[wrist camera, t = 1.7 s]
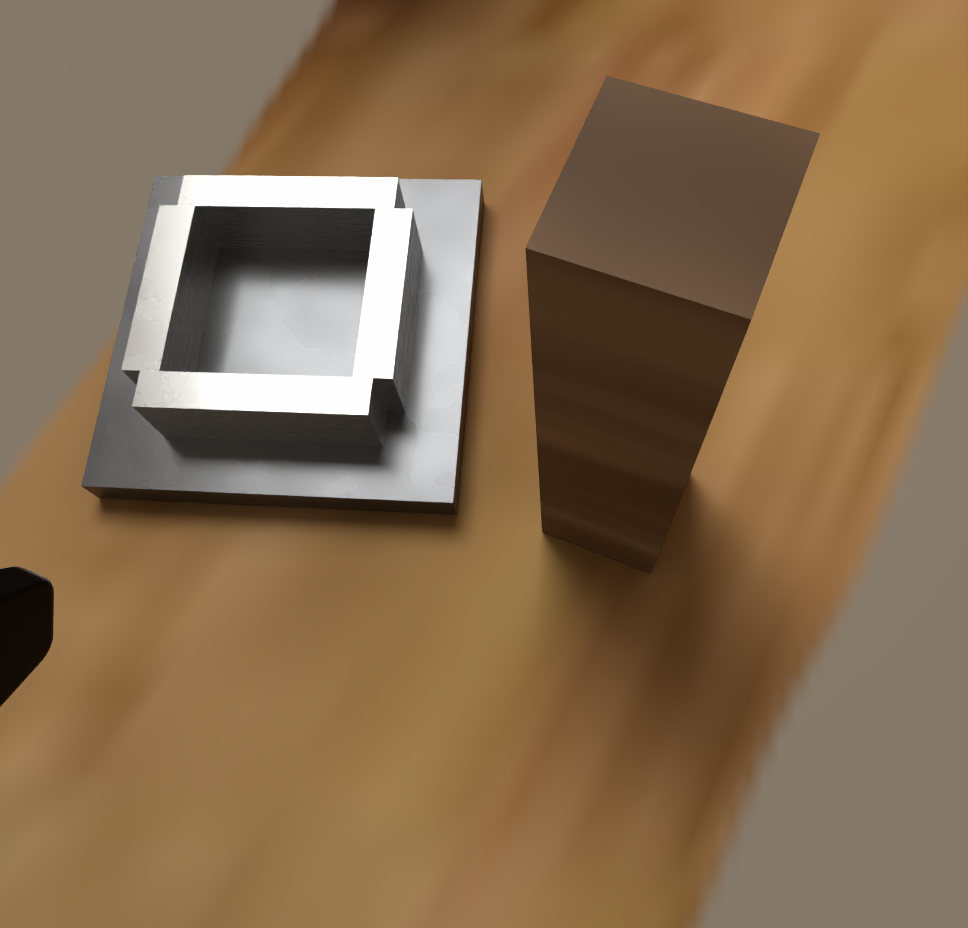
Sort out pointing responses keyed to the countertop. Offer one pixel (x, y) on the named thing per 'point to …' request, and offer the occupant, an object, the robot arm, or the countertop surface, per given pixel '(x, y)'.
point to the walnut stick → (647, 302)
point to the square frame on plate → (294, 345)
